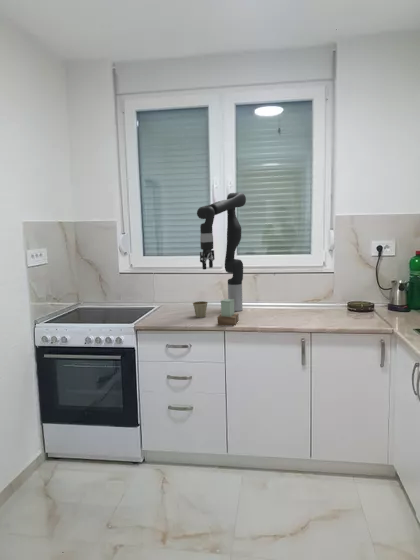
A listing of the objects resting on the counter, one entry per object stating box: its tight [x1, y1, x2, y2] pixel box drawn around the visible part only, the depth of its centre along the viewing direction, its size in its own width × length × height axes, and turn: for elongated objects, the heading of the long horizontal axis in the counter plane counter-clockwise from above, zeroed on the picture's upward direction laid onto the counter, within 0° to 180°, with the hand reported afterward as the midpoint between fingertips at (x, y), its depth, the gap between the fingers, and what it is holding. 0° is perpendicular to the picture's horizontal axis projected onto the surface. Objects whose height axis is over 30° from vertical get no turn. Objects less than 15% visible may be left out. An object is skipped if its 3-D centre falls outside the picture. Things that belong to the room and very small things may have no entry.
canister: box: [220, 298, 235, 317], centre depth 236 cm, size 6×6×9 cm
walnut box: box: [217, 313, 240, 326], centre depth 237 cm, size 10×10×5 cm
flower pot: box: [192, 300, 209, 318], centre depth 256 cm, size 9×9×9 cm
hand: (207, 268), depth 248 cm, fingers open, 8 cm apart
